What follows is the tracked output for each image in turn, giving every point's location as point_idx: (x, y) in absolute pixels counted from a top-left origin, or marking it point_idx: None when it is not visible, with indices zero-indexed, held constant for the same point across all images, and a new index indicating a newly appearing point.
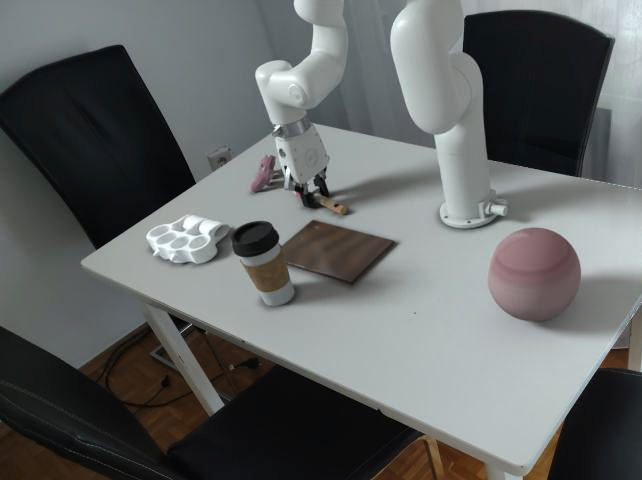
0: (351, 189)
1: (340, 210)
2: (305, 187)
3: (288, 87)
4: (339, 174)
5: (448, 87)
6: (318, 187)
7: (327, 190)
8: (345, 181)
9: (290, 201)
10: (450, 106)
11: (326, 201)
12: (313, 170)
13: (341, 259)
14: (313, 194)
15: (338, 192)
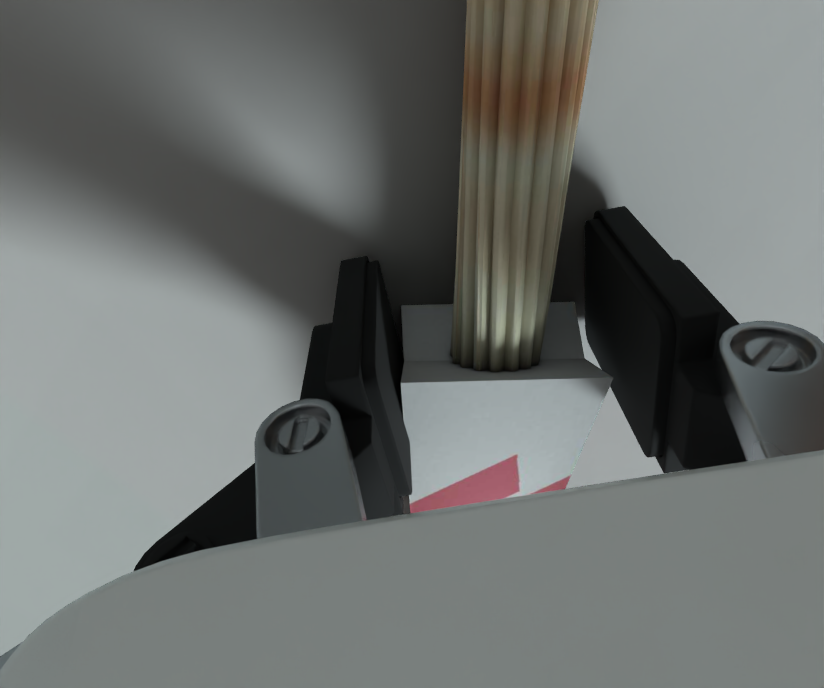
0: (66, 145)
1: None
2: (807, 401)
3: None
4: (58, 462)
5: None
6: (414, 388)
7: (346, 293)
8: (58, 338)
9: (582, 476)
10: None
11: (561, 64)
12: (759, 638)
13: None
14: (521, 348)
15: (226, 237)
